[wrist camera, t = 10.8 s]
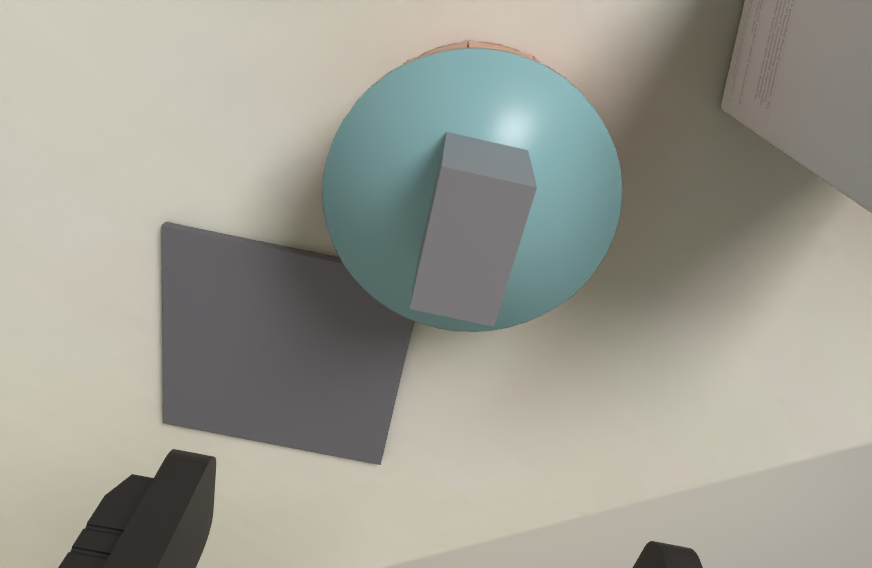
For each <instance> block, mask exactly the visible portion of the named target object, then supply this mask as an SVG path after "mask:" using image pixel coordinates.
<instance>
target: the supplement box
mask: <svg viewBox="0 0 872 568" xmlns="http://www.w3.org/2000/svg"><path fill="white" fill-rule="evenodd" d="M721 109H722V110H723V111H724V112H726V113H727V114H729V115H730V116H731V117H733V118H734V119H736V120H737V121H739V122H740V123H741V124H743V125H744V126H746V127H747V128H749V129H750V130H752V131H753V132H755V133H756V134H758V135H759V136H761V137H762V138H763V139H765V140H766V141H767V142H769V143H770V144H772V145H773V146H775V147H777V148H778V149H779V150H781V151H782V152H784V153H785V154H787V155H788V156H789V157H791V158H792V159H794V160H795V161H797V162H798V163H800V164H801V165H803V166H804V167H805V168H807V169H808V170H810V171H811V172H813V173H814V174H816V175H817V176H819V177H820V178H822V179H823V180H824V181H826V182H827V183H829V184H830V185H832V186H833V187H835V188H836V189H838V190H839V191H840V192H842V193H843V194H845V195H846V196H848V197H849V198H851V199H852V200H854V201H855V202H856V203H858V204H859V205H861V206H862V207H864V208H865V209H866V210H868V211H869V212H871V213H872V0H745V2H744V6H743V10H742V15H741V19H740V23H739V28H738V32H737V36H736V41H735V45H734V50H733V54H732V58H731V63H730V67H729V72H728V76H727V81H726V85H725V90H724V94H723V99H722V104H721Z"/></svg>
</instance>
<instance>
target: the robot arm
mask: <svg viewBox="0 0 872 568" xmlns="http://www.w3.org/2000/svg"><path fill="white" fill-rule="evenodd" d="M215 475H216V458H215V457H212V456H207V455H202V454H197V453H191V452H186V451H181V450H175V449H173V450H171V451H170V452H169V453H168V455H167V456H166V458H165V460H164V461H163V463H162V465H161V467H160V468H159V470H158V472H157V474H156V475H155V477H154V478H149V477H144V476H139V475H133V474H132V475H131V476H129V477H128V478H127V479H126V480H124V481H123V482H122V483H120V484H119V485H118V486H117V487H115V488H114V489H113V490H111V491H110V492H109V493H108V494H106V495H105V496H104V498H103V499H102V501H101V502H100V504H99V505H98V507H97V508H96V510H95V512H94V513H93V515H92V516H91V518H90V519H89V521H88V522H87V526H86V528H85V529H83V530H82V532H81V533H80V535H79V536H78V538H77V540H76V541H75V543H74V544H73V546H72V549H71V552H70V553H69V552H68V554H67V555H66V557H65V558H64V560H63V561H62V563H61V565H60V566H59V568H196V566H197V564H198V561H199V559H200V557H201V554H202V552H203V549H204V547H205V544H206V541H207V538H208V535H209V531H210V528H211V523H212V518H213V508H214V492H215ZM633 568H703V567H702V565H701V562H700V559H699V557H698V555H697V554H696V552H695V551H694V550H693V549H691V548H686V547H681V546H675V545H670V544H665V543H660V542H654V541H650V542H649V543H647V544H646V546H645V547H644V549H643V551H642V552H641V554H640V556H639V558H638V559H637V561H636V563H635V565H634V566H633Z"/></svg>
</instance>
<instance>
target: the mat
mask: <svg viewBox="0 0 872 568" xmlns="http://www.w3.org/2000/svg"><path fill="white" fill-rule="evenodd" d="M413 322H414V321H413V320H411V319H408V318H406V317H404V316H402V315H400V314H398V313H396V312H394V311H392V310H390V309H389V308H388V307H386V306H385V305H383V304H382V303H380V302H379V301H377V300H376V299H375V298H374V297H372V296H371V295H370V294H369V293H368V292H367V291H366V290H364V289H363V288H362V286H361V285H360V284H359V283H358V282H357V281H356V280H355V279H354V278H353V276H352V275H351V274H350V272H349V271H348V270H347V268H346V267H345V265H344V264H343V262H342V261H341V259H340V258H336V257H331V256H326V255H321V254H317V253H312V252H307V251H302V250H298V249H293V248H288V247H283V246H279V245H274V244H269V243H264V242H260V241H255V240H250V239H245V238H240V237H236V236H231V235H226V234H221V233H217V232H212V231H207V230H202V229H198V228H193V227H188V226H183V225H179V224H174V223H169V222H165V223H164V224H163V225H162V329H163V423H165V424H170V425H176V426H181V427H186V428H191V429H196V430H202V431H207V432H212V433H217V434H222V435H228V436H233V437H238V438H243V439H248V440H254V441H259V442H264V443H269V444H274V445H280V446H285V447H290V448H295V449H300V450H306V451H311V452H316V453H321V454H326V455H332V456H337V457H342V458H347V459H352V460H358V461H363V462H368V463H373V464H378V465H381V461H382V456H383V452H384V448H385V443H386V439H387V435H388V430H389V426H390V422H391V417H392V413H393V409H394V404H395V400H396V396H397V391H398V387H399V383H400V378H401V374H402V370H403V365H404V361H405V357H406V352H407V348H408V344H409V339H410V335H411V331H412V326H413Z"/></svg>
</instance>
